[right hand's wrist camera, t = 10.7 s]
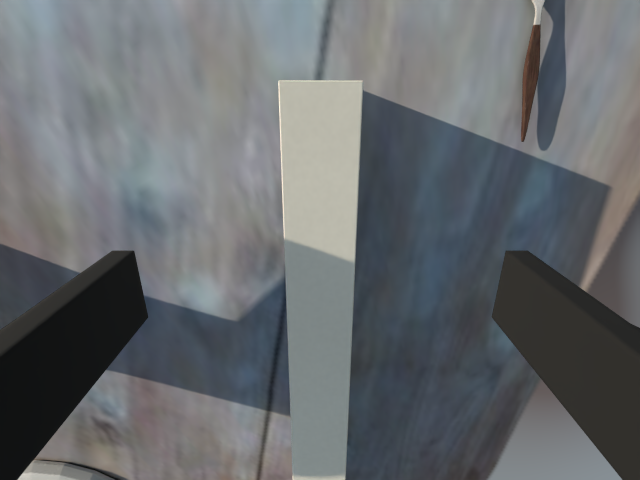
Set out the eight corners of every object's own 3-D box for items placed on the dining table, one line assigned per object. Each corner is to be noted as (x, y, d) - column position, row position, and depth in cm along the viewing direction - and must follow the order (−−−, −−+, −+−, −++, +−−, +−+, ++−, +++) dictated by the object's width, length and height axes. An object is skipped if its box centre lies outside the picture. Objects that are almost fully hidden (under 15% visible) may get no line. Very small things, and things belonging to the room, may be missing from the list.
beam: (288, 85, 30) (278, 80, 23) (353, 86, 30) (363, 80, 23) (299, 496, 50) (295, 563, 43) (338, 496, 50) (341, 563, 43)
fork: (504, 142, 32) (516, 144, 30) (528, -78, 26) (544, -92, 24) (533, 139, 32) (547, 142, 30) (564, -82, 26) (583, -96, 24)
